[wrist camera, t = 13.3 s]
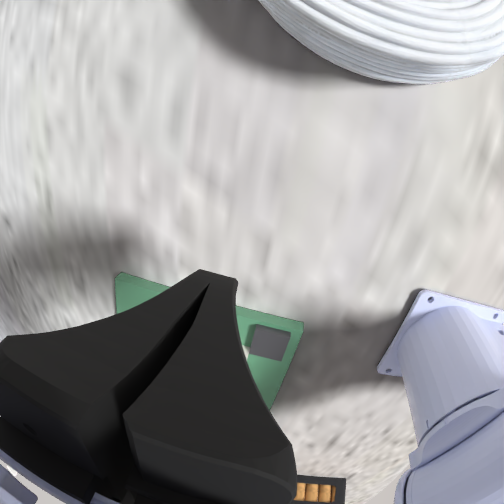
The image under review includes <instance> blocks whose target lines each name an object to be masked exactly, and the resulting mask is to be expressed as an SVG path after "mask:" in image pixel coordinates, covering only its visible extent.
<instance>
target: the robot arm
mask: <svg viewBox="0 0 504 504" xmlns="http://www.w3.org/2000/svg"><path fill="white" fill-rule="evenodd" d="M237 286H238V281H237V280H236V279H235V278H231V277H227V276H224V275H220V274H216V273H212V272H209V271H205V270H201V269H199V270H197V271H196V272H194V273H192V274H191V275H189V276H188V277H186V278H185V279H183V280H181V281H180V282H178V283H177V284H175V285H174V286H172V287H170V288H168V289H167V290H165V291H163V292H162V293H160V294H158V295H157V296H155V297H153V298H151V299H149V300H147V301H145V302H143V303H141V304H139V305H137V306H135V307H133V308H131V309H128V310H126V311H123V312H121V313H118V314H116V315H113V316H111V317H108V318H105V319H101V320H98V321H95V322H91V323H88V324H84V325H81V326H77V327H73V328H68V329H63V330H58V331H52V332H46V333H38V334H27V335H15V336H7V337H6V338H5V339H3V340H2V341H1V342H0V416H1V417H0V459H1V460H2V461H4V462H5V463H6V464H7V465H9V466H10V467H11V468H13V469H14V470H15V471H17V472H18V473H20V474H21V475H22V476H24V477H25V478H26V479H28V480H29V481H31V482H32V483H34V484H35V485H37V486H38V487H40V488H41V489H43V490H44V491H46V492H48V493H49V494H51V495H52V496H54V497H56V498H57V499H59V500H61V501H62V502H64V503H66V504H289V503H291V502H292V501H293V500H294V498H295V497H296V495H297V470H296V463H295V458H294V452H293V448H292V444H291V443H290V441H289V440H288V439H287V437H286V436H285V434H284V433H283V431H282V430H281V428H280V427H279V425H278V424H277V422H276V421H275V419H274V418H273V416H272V414H271V412H270V411H269V409H268V407H267V405H266V403H265V402H264V400H263V398H262V395H261V393H260V391H259V389H258V387H257V385H256V383H255V381H254V378H253V376H252V374H251V371H250V368H249V365H248V363H247V360H246V357H245V353H244V350H243V346H242V343H241V338H240V334H239V329H238V323H237V315H236V291H237ZM429 297H432V298H431V299H430V300H428V298H429ZM494 314H495V315H494ZM503 323H504V310H501V309H497V308H493V307H490V306H486V305H482V304H479V303H475V302H471V301H467V300H464V299H460V298H456V297H452V296H449V295H445V294H441V293H437V292H434V291H430V290H422V291H420V292H419V293H418V295H417V297H416V299H415V301H414V303H413V305H412V307H411V309H410V311H409V313H408V314H407V316H406V318H405V320H404V322H403V324H402V325H401V327H400V329H399V331H398V333H397V334H396V336H395V338H394V340H393V341H392V343H391V345H390V346H389V348H388V350H387V351H386V353H385V355H384V356H383V358H382V360H381V361H380V363H379V364H378V366H377V371H378V373H380V374H385V375H392V376H399V377H403V381H404V385H405V389H406V393H407V397H408V401H409V406H410V410H411V415H412V419H413V424H414V429H415V434H416V439H417V444H418V448H417V449H416V450H414V451H413V452H411V453H410V454H409V460H410V466H411V468H410V469H408V470H407V471H406V472H405V473H404V474H403V475H402V476H401V478H400V479H399V482H398V484H397V487H396V491H395V498H394V504H504V326H503ZM387 369H388V370H387ZM37 500H38V498H37V496H36V495H35V494H34V493H32V492H31V491H30V490H28V489H27V488H26V487H25V486H24V485H22V484H21V483H20V482H19V481H18V480H17V479H16V478H15V477H14V476H12V474H11V473H10V472H9V471H8V470H6V469H5V468H4V467H3V466H2V465H1V464H0V504H35V503H36V501H37Z"/></svg>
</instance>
